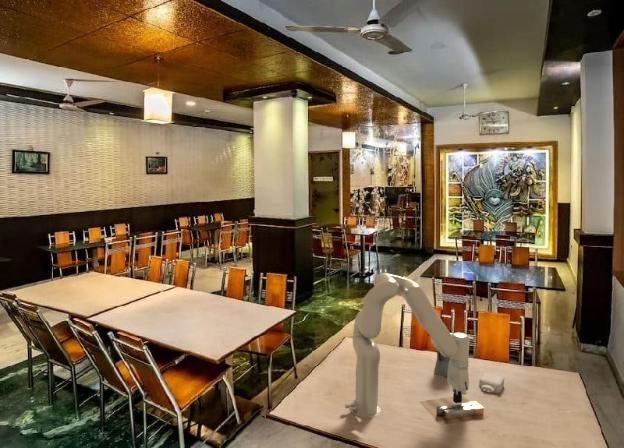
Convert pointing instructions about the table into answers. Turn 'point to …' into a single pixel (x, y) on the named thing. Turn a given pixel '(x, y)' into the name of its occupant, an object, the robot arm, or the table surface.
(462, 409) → the bar
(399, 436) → the table surface
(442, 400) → the board
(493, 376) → the charger
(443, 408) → the tong leg
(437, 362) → the moka pot
